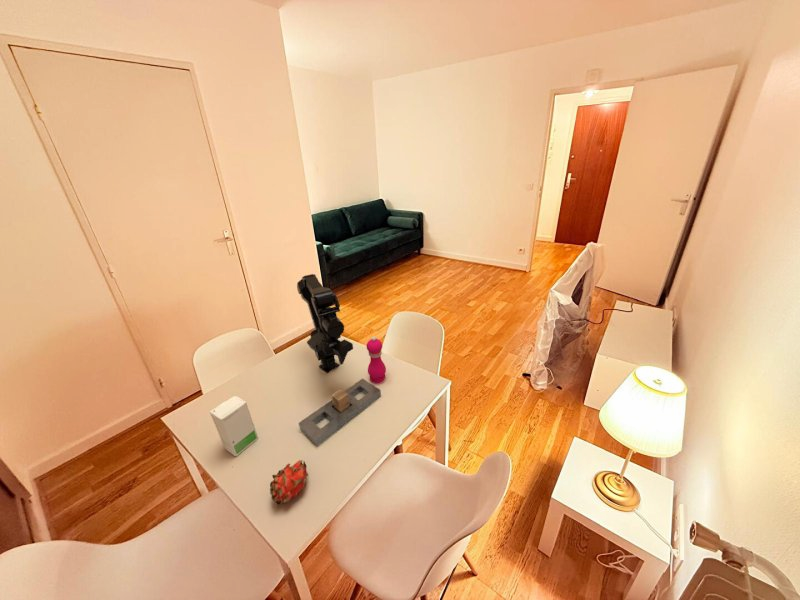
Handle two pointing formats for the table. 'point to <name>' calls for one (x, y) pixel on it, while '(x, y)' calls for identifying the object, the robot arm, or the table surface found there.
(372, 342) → the pepper mill
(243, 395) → the table surface
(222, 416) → the skincare box
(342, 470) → the table surface
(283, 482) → the dragon fruit
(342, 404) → the walnut peg
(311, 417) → the grey peg hole board
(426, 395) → the table surface
